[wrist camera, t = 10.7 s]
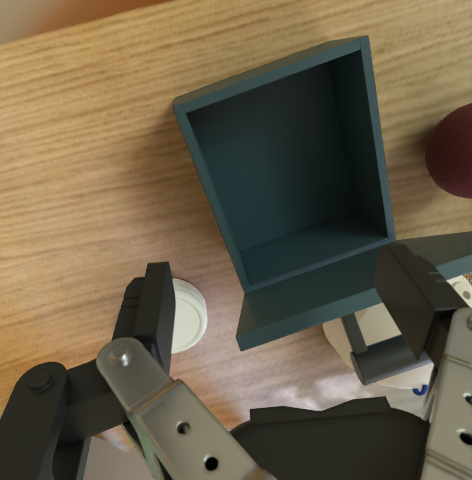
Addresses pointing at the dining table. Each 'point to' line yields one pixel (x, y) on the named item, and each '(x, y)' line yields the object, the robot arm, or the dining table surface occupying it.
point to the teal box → (293, 161)
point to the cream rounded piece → (381, 328)
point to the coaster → (188, 316)
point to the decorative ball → (452, 153)
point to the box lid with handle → (346, 303)
